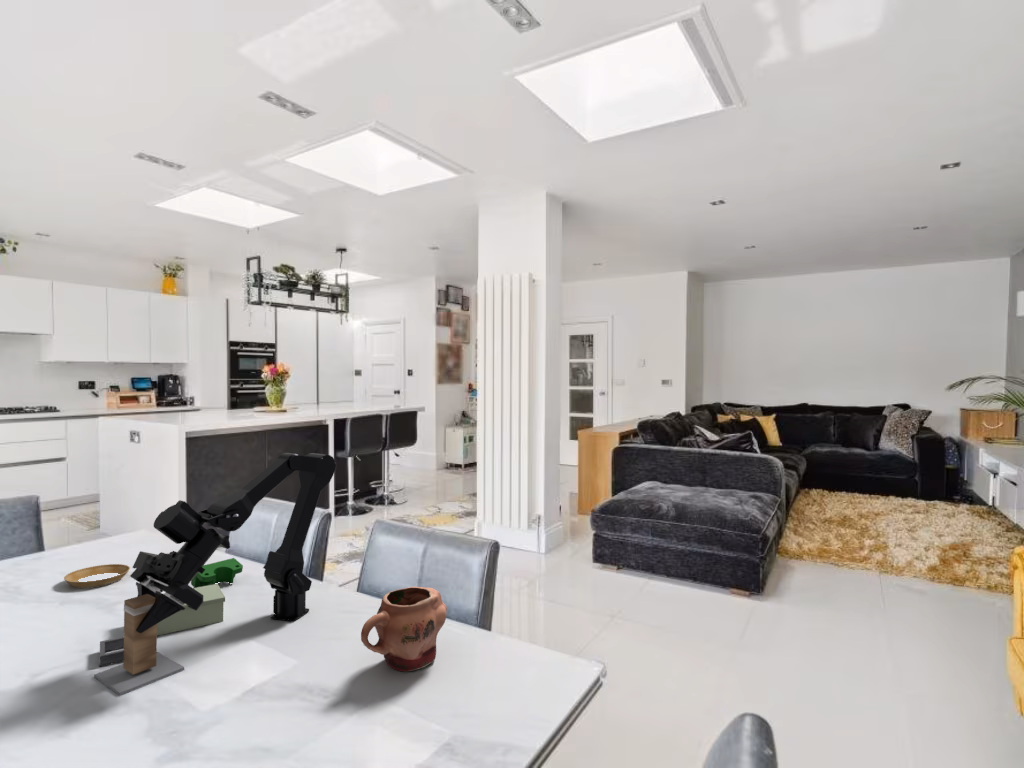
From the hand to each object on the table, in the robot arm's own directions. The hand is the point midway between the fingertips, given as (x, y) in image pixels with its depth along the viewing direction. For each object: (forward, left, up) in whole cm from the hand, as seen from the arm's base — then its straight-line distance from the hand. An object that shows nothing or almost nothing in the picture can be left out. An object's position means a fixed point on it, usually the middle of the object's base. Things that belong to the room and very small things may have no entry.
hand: (132, 628), depth 106 cm
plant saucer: (+53, -39, -9) cm, 66 cm away
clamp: (+19, -44, -9) cm, 49 cm away
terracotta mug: (-48, -17, -9) cm, 52 cm away
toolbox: (+10, -22, -9) cm, 26 cm away
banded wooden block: (0, -1, -8) cm, 8 cm away
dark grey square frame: (+9, -7, -9) cm, 15 cm away
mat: (-1, -1, -9) cm, 9 cm away
